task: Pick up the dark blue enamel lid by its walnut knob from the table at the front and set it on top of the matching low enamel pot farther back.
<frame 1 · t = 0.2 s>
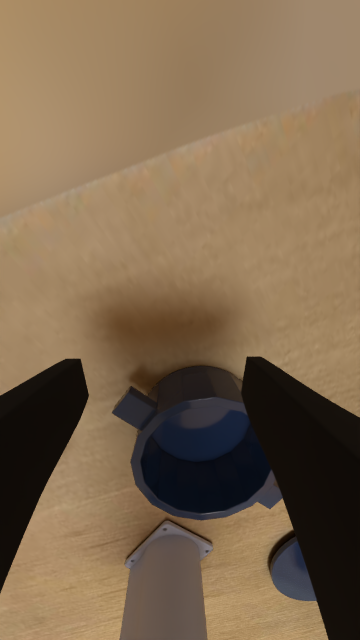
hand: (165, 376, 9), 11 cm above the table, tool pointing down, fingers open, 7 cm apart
lid: (319, 563, 27), point 1 cm above the table
pot: (199, 417, 21), on the table
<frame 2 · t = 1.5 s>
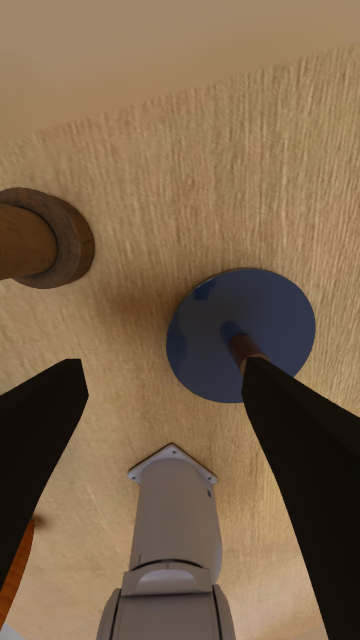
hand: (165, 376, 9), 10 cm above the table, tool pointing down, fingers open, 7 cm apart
lid: (238, 343, 18), point 1 cm above the table
carrot: (33, 518, 29), on the table
mortar and pestle: (53, 242, 15), on the table
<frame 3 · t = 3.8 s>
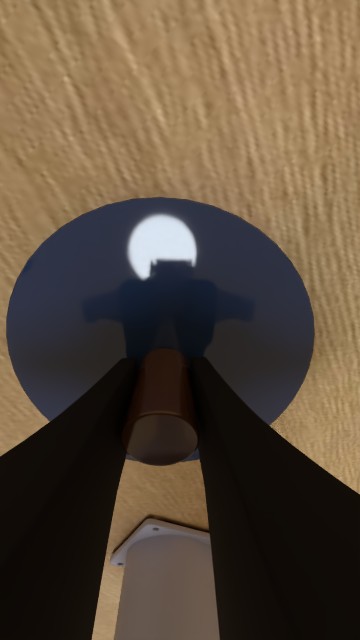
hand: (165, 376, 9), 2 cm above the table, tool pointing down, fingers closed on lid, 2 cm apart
lid: (165, 363, 9), point 1 cm above the table, touching gripper
when the fingers open (6 cm above the table, at t = 8.2 s): lid stays where it is, resting on pot.
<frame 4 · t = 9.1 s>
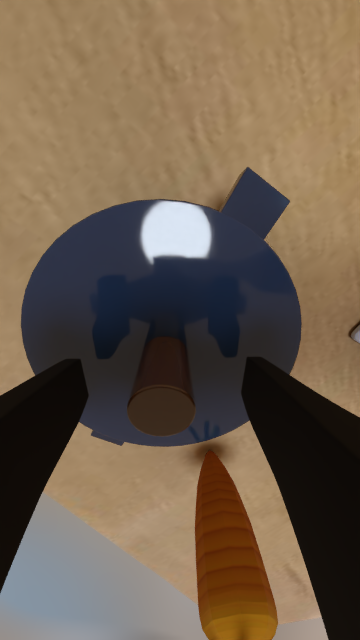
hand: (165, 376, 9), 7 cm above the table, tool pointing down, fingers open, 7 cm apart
lid: (165, 351, 10), point 5 cm above the table, touching pot
carrot: (209, 449, 22), on the table
pot: (168, 316, 15), on the table
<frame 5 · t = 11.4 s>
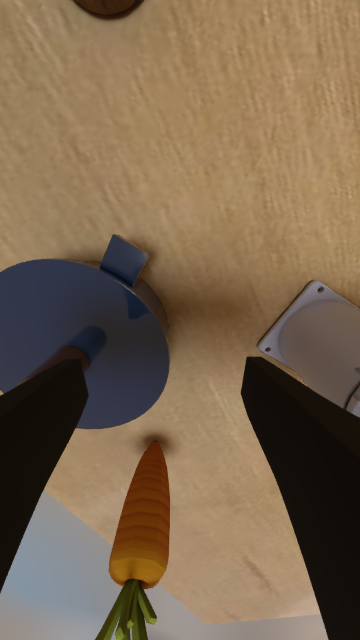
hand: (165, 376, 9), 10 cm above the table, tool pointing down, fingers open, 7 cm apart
lid: (76, 356, 14), point 5 cm above the table, touching pot
carrot: (155, 440, 25), on the table
pot: (105, 327, 19), on the table
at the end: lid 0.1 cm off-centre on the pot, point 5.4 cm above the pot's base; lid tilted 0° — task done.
